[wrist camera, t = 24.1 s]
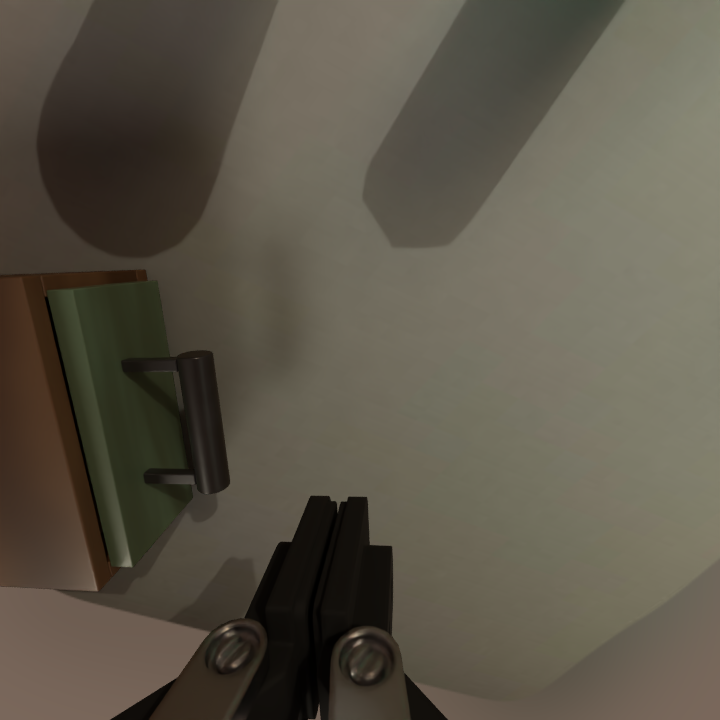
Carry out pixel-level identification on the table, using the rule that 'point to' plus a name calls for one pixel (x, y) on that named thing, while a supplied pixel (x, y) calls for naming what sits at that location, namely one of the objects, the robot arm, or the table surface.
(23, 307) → the cabinet
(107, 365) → the drawer
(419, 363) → the table surface
